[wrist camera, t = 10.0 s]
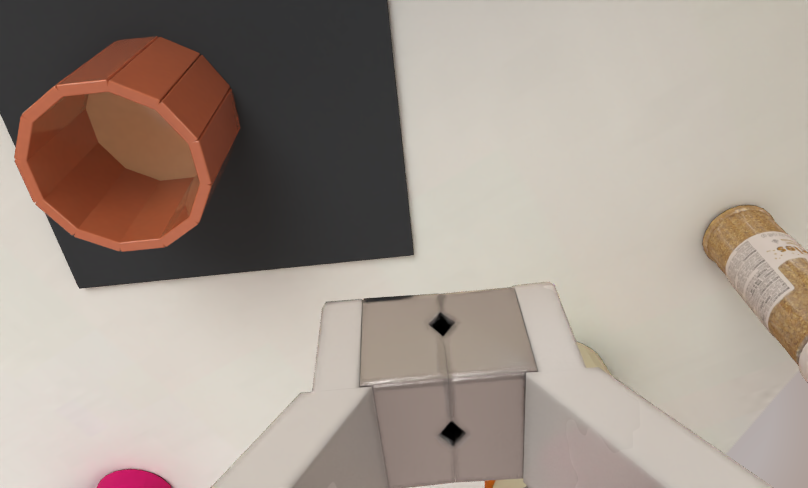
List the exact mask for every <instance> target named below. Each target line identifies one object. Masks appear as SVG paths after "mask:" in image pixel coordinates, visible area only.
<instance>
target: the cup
mask: <svg viewBox="0 0 808 488" xmlns="http://www.w3.org/2000/svg"><path fill="white" fill-rule="evenodd" d="M239 130H240V121H239V117H238V113H237V109H236V105H235V101H234V97H233V93H232V89H231V88H230V86H229V84H228V83H227V82H226V81H225V80H224V79H223V78H222V77H221V75H220V74H219V73H218V72H217V71H216V70H215V69H214V68H213V66H212V65H211V64H210V63H209V62H208V61H207V60H206V59H205V57H204V56H203V55H200V53H198V52H196V51H193V50H191V49H189V48H186V47H184V46H181V45H179V44H177V43H174V42H172V41H169V40H167V39H164V38H162V37H157V36H153V37H144V38H135V39H125V40H117V41H116V42H113V43H112V44H110V45H109V46H108V47H106V48H105V49H104V50H102V51H101V52H99V53H98V54H97V55H95V56H94V57H93V58H91V59H90V60H89V61H87V62H86V63H84V64H83V65H82V66H80V67H79V68H78V69H76V70H75V71H74V72H72V73H71V74H69V75H68V76H67V77H65V78H64V79H63V80H61V81H60V82H59V83H57V84H56V85H54V86H53V87H52V88H51V89H50V90H49V91H47V92H46V93H45V94H44V95H43V96H42V97H41V98H39V99H38V100H37V101H36V102H35V103H34V104H33V105H31V106H30V107H29V108H28V109H27V110H26V111H25V112H23V113H22V116H21V117H20V123H19V130H18V136H17V143H16V149H15V156H14V158H15V159H16V160H15V163H16V165H17V167H18V169H19V172H20V174H21V176H22V178H23V180H24V183H25V185H26V187H27V189H28V191H29V194H30V196H31V198H32V200H33V202H36V205H37V206H38V207H39V208H40V209H41V210H42V211H44V212H45V213H46V214H47V215H48V216H50V217H51V218H52V219H53V220H54V221H55V222H57V223H58V224H59V225H60V226H61V227H63V228H64V229H65V230H66V231H67V232H68V233H70V234H71V235H74V234H75V235H74V237H76V238H79V239H82V240H85V241H89V242H92V243H95V244H98V245H101V246H104V247H107V248H110V249H113V250H116V251H120V250H121V251H122V252H125V251H135V250H145V249H154V248H164V247H165V246H166V247H167V246H169V245H170V244H171V243H173V242H174V241H176V240H177V239H178V238H180V237H181V236H183V235H184V234H185V233H187V232H188V231H190V230H191V229H192V228H194V227H195V226H197V225H198V223H199V222H200V221H201V218H202V216H203V214H204V212H205V210H206V208H207V206H208V204H209V202H210V199H211V197H212V195H213V193H214V191H215V189H216V187H217V185H218V183H219V181H220V178H221V176H222V174H223V172H224V170H225V168H226V166H227V164H228V162H229V160H230V157H231V154H232V151H233V148H234V145H235V142H236V139H237V136H238V133H239Z"/></svg>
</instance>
